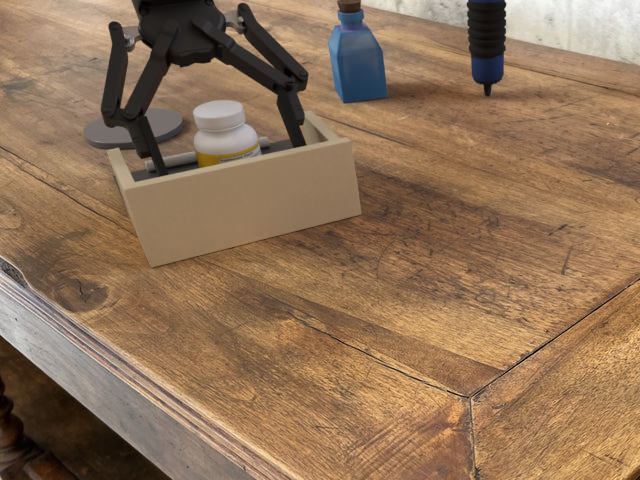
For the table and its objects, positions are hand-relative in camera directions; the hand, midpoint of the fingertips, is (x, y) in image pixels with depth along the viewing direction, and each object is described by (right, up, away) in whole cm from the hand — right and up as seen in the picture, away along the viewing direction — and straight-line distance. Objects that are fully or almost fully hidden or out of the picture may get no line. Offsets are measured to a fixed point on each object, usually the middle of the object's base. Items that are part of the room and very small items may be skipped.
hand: (237, 169), depth 79 cm
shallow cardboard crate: (-3, -1, +7) cm, 8 cm away
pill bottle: (-1, -3, +5) cm, 6 cm away
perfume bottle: (+6, +19, +33) cm, 38 cm away
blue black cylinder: (+24, +19, +32) cm, 44 cm away
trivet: (-21, +11, +23) cm, 33 cm away
